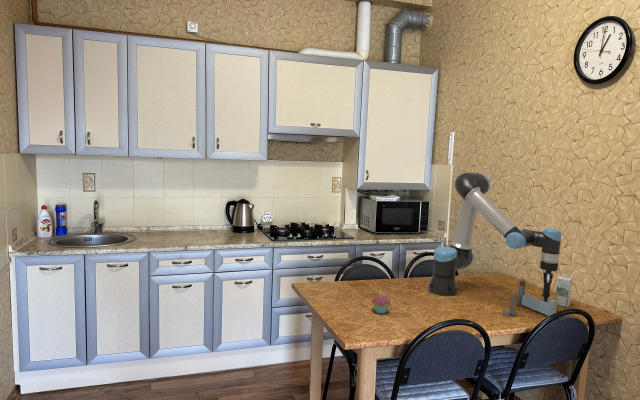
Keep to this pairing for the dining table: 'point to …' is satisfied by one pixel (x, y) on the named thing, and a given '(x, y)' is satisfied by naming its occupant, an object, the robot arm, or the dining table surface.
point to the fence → (522, 283)
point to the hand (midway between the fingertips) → (544, 309)
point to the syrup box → (563, 291)
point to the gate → (536, 303)
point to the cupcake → (381, 303)
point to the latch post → (511, 310)
